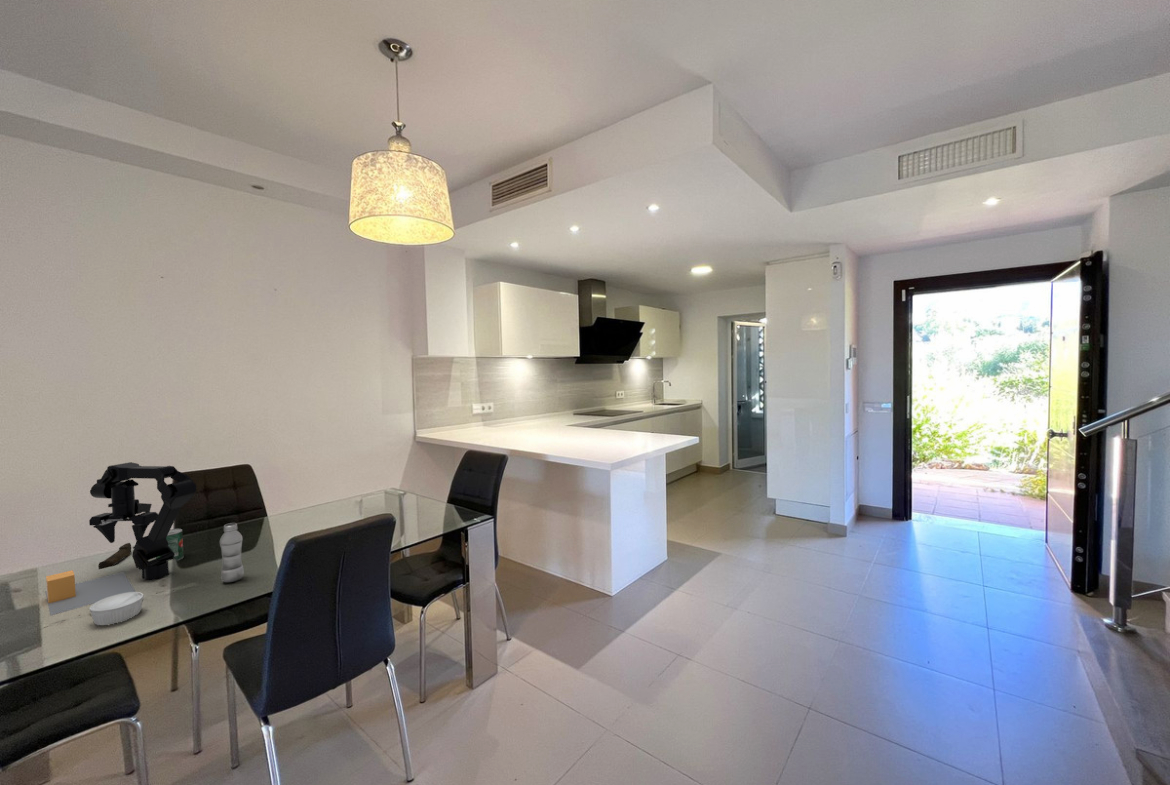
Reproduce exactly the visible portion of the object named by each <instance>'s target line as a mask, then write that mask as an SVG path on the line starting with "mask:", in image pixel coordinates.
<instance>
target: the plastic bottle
mask: <svg viewBox="0 0 1170 785" xmlns="http://www.w3.org/2000/svg"><path fill="white" fill-rule="evenodd" d="M223 532H224V533H223V534H222V535H221V537H220V539H219V547H220V551H221V556H222V557H221V559H222V560H221V561H222V562H221V563H222V564H221V572H220V580H221V581H222V582H223V583H233V582H237V581H239V580H241V579H243V577H244V575H245V569H244V566H243V560H242V546H243V535H242V533H240V532H239V530H238V524H237V522H230V523H226V524H224V525H223Z"/></svg>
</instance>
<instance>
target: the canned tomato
mask: <svg viewBox="0 0 1170 785" xmlns="http://www.w3.org/2000/svg"><path fill="white" fill-rule="evenodd" d="M183 538H184V537H183V529H181V528H171V529H170V531H169V533H168V535H167V537H166V539H167V541H168V543H169V544H168V546H169V548H170V549H171V550H172V551H173V552H174V554H175V555H174V559H175V560H176V561H181V560H183V558H185V557H184V545H183V544H184V540H183ZM159 557H161V556H158V557H156V558H155V559H157V558H159Z"/></svg>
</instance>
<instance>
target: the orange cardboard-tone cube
mask: <svg viewBox="0 0 1170 785" xmlns="http://www.w3.org/2000/svg"><path fill="white" fill-rule="evenodd" d="M75 577H76V576H75V572H74V570H72V569H71V570H68V571H64V572H59V573H55V574H51V575H46V576H45V582H46V591H47V598H48V602H47V604H48V603H52V602H56V601H60V600H64V599H67V598H71V597H75V596H76V591H75V584H76V578H75ZM47 598H46V599H47Z"/></svg>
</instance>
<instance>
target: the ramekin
mask: <svg viewBox="0 0 1170 785" xmlns="http://www.w3.org/2000/svg"><path fill="white" fill-rule="evenodd" d="M144 598H145V595H144V593H142V592H140V591H136V592H128V593H122V594H118V595H114V596H110V597H107V598H105V599H102V600H100V601H98V602H96V603H94V604H90V607H89V609H88V610H89V613H90V614H91V617H92V620H93V624H95V625H97V626H99V625H108V624H113V625H115V624H114V623H117V622H121V621H124V620H126V621H128V620H127V619H129V618H131V617H133V616H135V615H136V616H137V615H138V614H139V613H140V612H141V610H142V605H143V599H144ZM136 616H135V617H136ZM133 618H134V617H133ZM131 619H132V618H131ZM129 620H130V619H129ZM124 622H125V621H124ZM121 623H122V622H121ZM117 624H118V623H117ZM108 626H109V625H108Z"/></svg>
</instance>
